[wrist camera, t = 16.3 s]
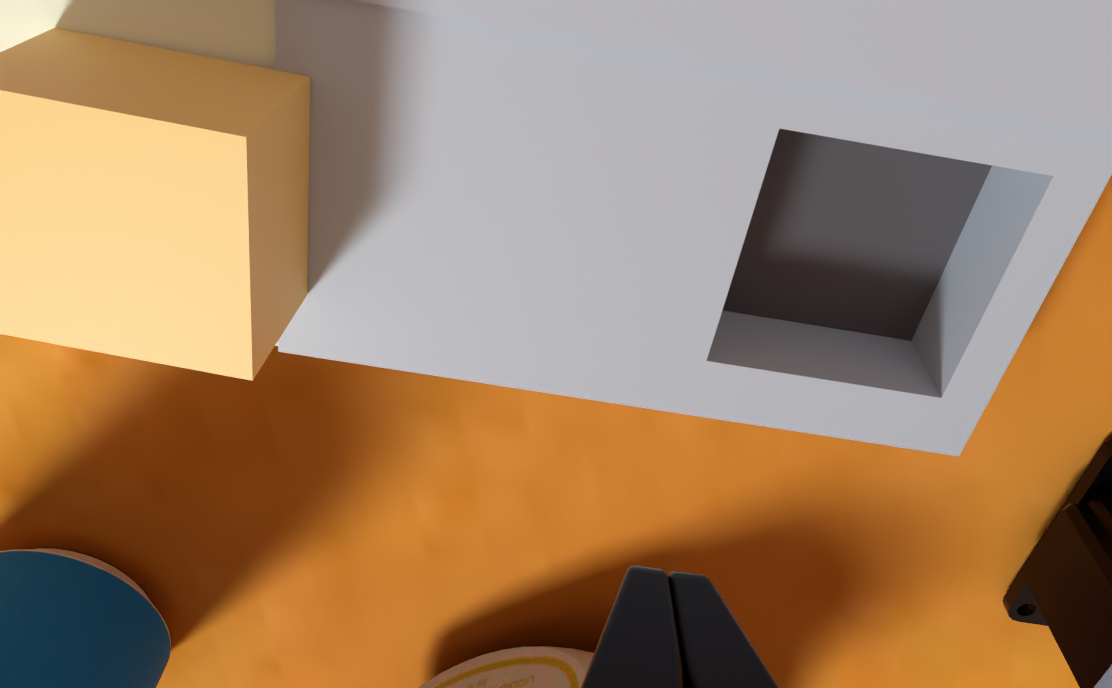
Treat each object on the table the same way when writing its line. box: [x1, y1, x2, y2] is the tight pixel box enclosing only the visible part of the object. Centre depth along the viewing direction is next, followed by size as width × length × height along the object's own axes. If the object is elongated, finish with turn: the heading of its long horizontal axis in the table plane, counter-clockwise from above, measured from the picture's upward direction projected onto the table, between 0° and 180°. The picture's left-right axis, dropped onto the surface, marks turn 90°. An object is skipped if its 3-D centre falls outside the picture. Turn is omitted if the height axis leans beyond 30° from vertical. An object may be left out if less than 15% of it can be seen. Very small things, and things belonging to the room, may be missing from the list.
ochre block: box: [0, 28, 310, 381], centre depth 16 cm, size 4×4×3 cm
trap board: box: [0, 0, 1112, 456], centre depth 16 cm, size 21×15×3 cm
